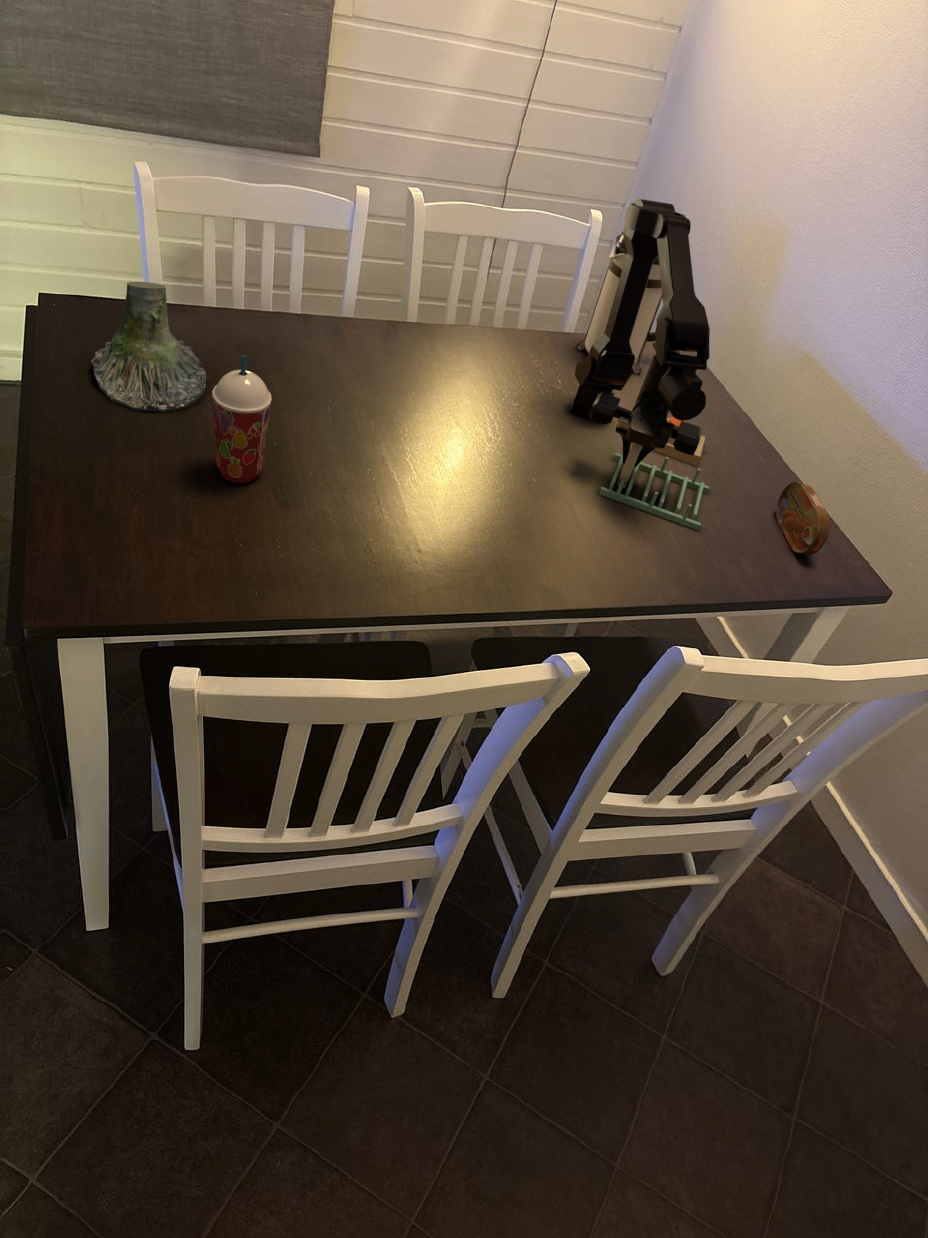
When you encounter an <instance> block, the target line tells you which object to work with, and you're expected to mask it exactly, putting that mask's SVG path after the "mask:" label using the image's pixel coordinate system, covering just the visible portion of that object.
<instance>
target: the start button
mask: <svg viewBox="0 0 928 1238" xmlns="http://www.w3.org/2000/svg"><path fill="white" fill-rule="evenodd" d="M669 418H670V420H669V423H672V424H674V426H675V427H679V424H680V422H681V420H677V419H676V418H674V417H673V416H671V417H669ZM685 422H687V423H689V422H688V420H685Z"/></svg>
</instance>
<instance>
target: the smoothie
mask: <svg viewBox="0 0 928 1238" xmlns="http://www.w3.org/2000/svg"><path fill="white" fill-rule="evenodd" d="M240 357H241V359H240V361H241V362H240V369H235V370H231V371H228V372H227V373H226V374H224V375H223V376H221V378H220V379H219V380H218V382H217V384H216V385H215V386H214V387H213V389H212V391H211V393H212V394H211V395H212V408H213V409H212V410H213V424H214V426H213V427H214V443H215V461H216V468H217V470H219V471H220V474H221V476H222V477H223V478H224V479H226V480H227V481H230V482H232V483H237V484H239V483H240V484H244V483H248V482H252V481H253V480H255V479H256V478H257V477H258V475H259V474H260V473H261V471H262V468H263V465H264V456H265V448H266V442H267V435H268V433H267V432H268V426H269V421H270V420H269V419H270V412H271V406H272V405H271V403H272V402H273V401H272V400H273V397H272V394H271V392H270V391H269V389H268V388H267V384H265V382H264V380H263V379H262V378H261V377H260V376H259V375H258V374H256V373H254V372H252V371H250V370H247V368H246V367H247V355H246V354H241V356H240Z"/></svg>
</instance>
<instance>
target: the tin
mask: <svg viewBox="0 0 928 1238" xmlns="http://www.w3.org/2000/svg"><path fill="white" fill-rule="evenodd" d="M775 516H776V521H777V523H778V526H779V528H780V529H781V532H782V533H783V536H784V537H785V539H786V542H787V543H788V545H789V547H790V549H791V550H792V552H794V553H796V554H803V555H814V554H817V553H818V552H819V551H820V550H821V549H822V548H823V546H824V545H825V544H826V542H827V540H828V538H829V536H830V532H831V518H830V515H829V513H828V511H827V509H826V508H825V507H824V504H823V502H822V501H821V500H820V497H819V496H818V494H817V493H816V491H815V489H814V488H813V487H812V486H811V485H808V484H804V483H801V482H799V481H792V482H790V483H789V484H787V485H786V486H785V487H784V489H783V490H782V491H781V494H780V496H779V498H778V501H777V505H776V509H775Z"/></svg>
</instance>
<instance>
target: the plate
mask: <svg viewBox="0 0 928 1238" xmlns="http://www.w3.org/2000/svg"><path fill="white" fill-rule="evenodd" d="M641 449H642V445H639V444H636V443H631V447H630V451H629V454H628V457H627V459H626V462H625V464H623V466H622V468H621V472H620V473H619V477H618V478H617V479H618V480H617V482H616V486H617V487H619V486H620V483H621V481H622V480H625V483H624V485H623V488H622V489H626V487H627V484H628V483H629V481H630V479H631V476H632V473H633V471H634V465H635V463H636V460H637V458H638V455H639V453H640V451H641Z"/></svg>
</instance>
